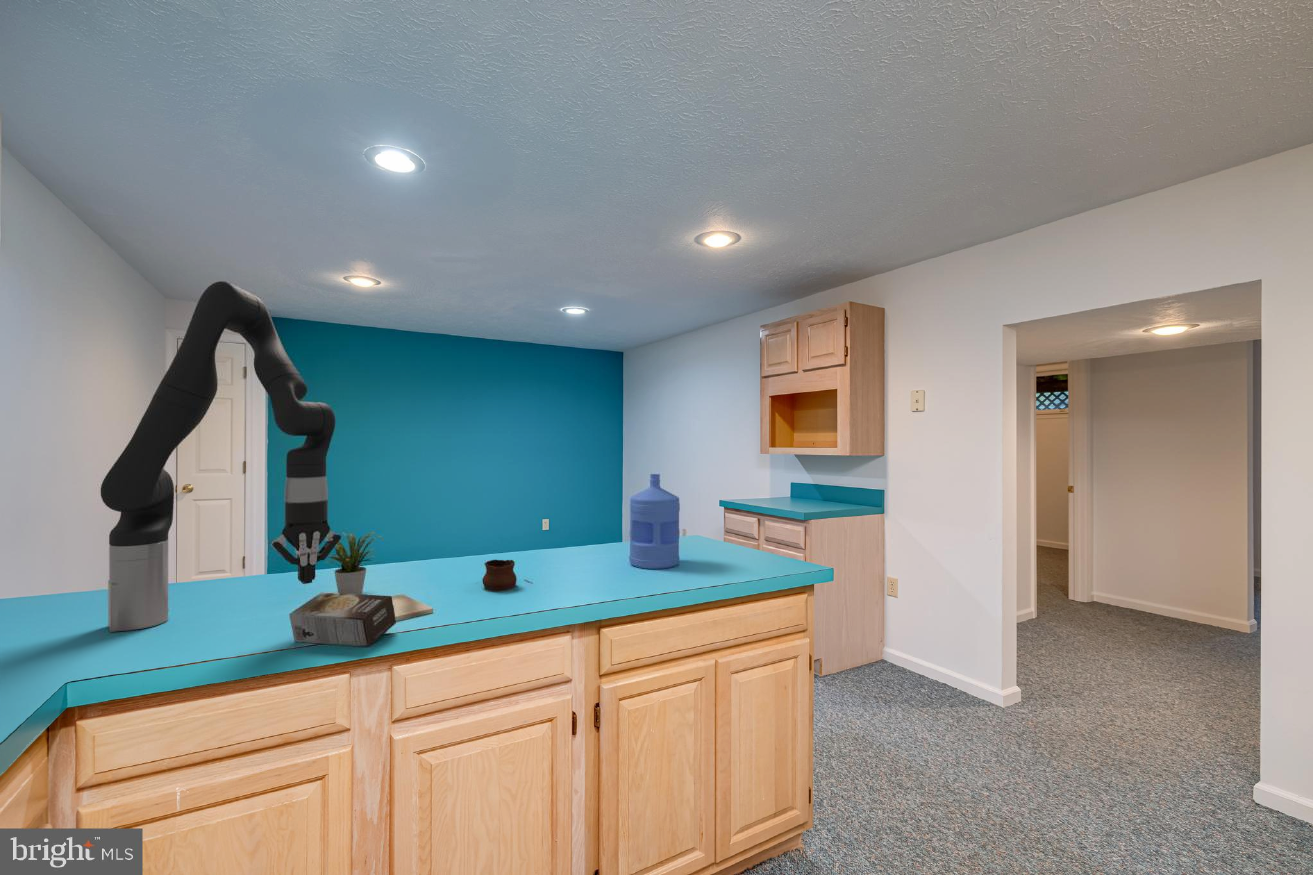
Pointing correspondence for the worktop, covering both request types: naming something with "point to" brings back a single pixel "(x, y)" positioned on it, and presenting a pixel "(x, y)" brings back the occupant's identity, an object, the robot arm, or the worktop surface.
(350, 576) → the house plant
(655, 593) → the worktop surface
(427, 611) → the cutting board
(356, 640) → the coffee box
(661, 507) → the water jug
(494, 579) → the ceramic pot
